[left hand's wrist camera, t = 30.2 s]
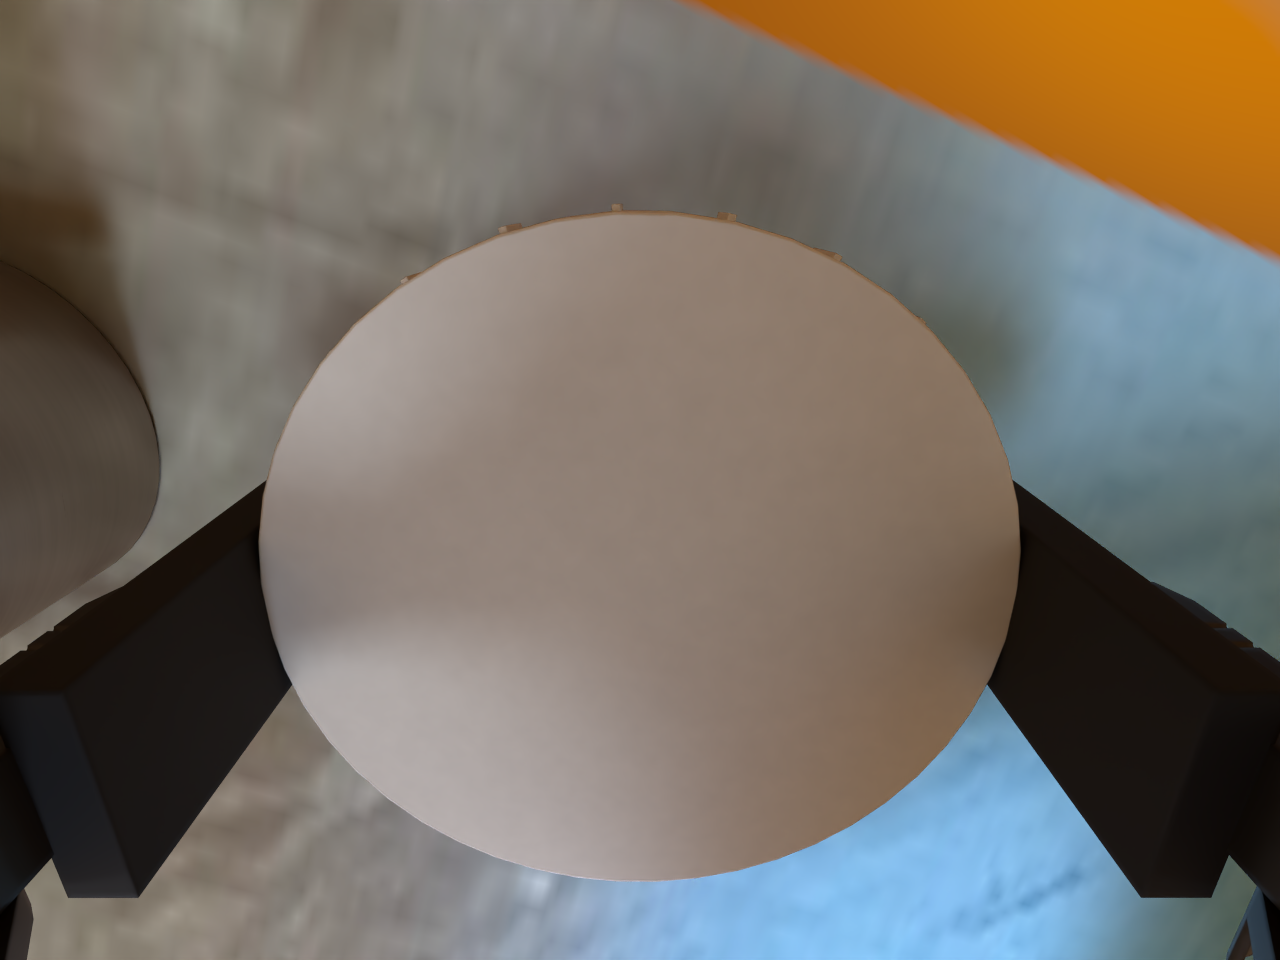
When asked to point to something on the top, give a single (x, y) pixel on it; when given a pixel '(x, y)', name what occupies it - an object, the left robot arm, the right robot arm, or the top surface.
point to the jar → (64, 451)
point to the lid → (639, 546)
